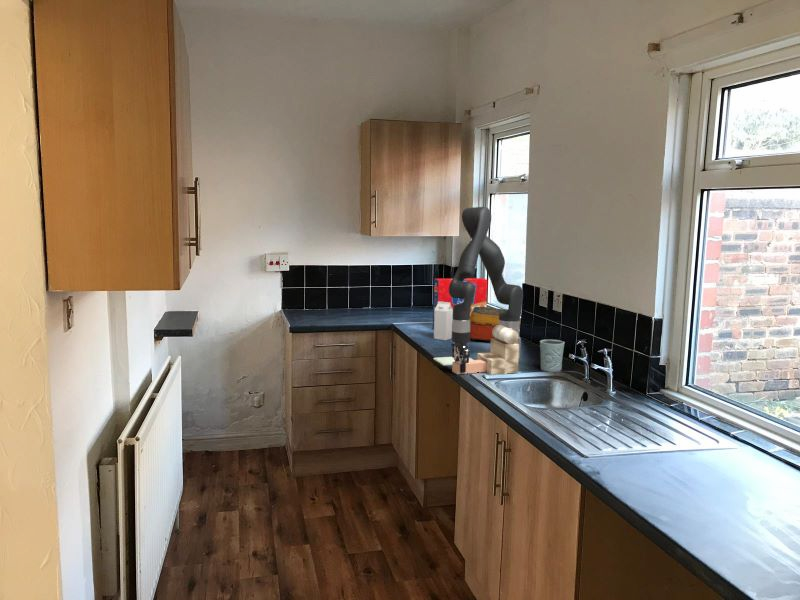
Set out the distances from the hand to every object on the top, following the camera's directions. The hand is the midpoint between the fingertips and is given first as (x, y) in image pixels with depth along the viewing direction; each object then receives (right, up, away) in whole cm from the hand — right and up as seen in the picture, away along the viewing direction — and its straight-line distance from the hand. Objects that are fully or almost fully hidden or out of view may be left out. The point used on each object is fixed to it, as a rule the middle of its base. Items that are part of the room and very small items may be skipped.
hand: (460, 370), depth 276 cm
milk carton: (-2, +9, +69) cm, 70 cm away
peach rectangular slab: (+4, -1, +2) cm, 4 cm away
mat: (0, +2, +20) cm, 20 cm away
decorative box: (+21, +8, +68) cm, 72 cm away
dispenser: (+16, 0, +5) cm, 17 cm away
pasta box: (+8, +12, +95) cm, 96 cm away
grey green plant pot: (+39, -1, +9) cm, 40 cm away
